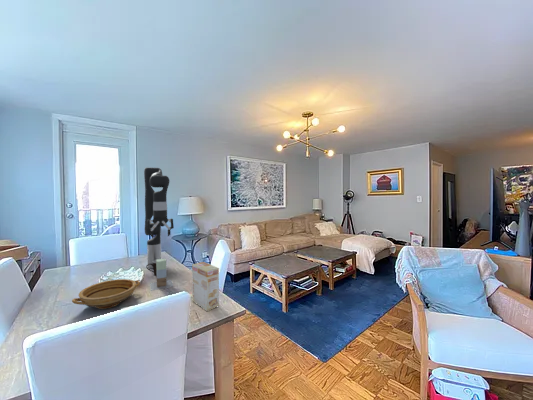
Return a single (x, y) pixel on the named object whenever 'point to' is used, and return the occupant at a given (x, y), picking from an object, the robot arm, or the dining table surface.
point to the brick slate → (161, 273)
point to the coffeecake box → (205, 285)
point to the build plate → (154, 286)
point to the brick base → (161, 282)
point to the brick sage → (161, 264)
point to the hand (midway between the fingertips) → (160, 236)
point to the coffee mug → (153, 267)
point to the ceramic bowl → (106, 293)
